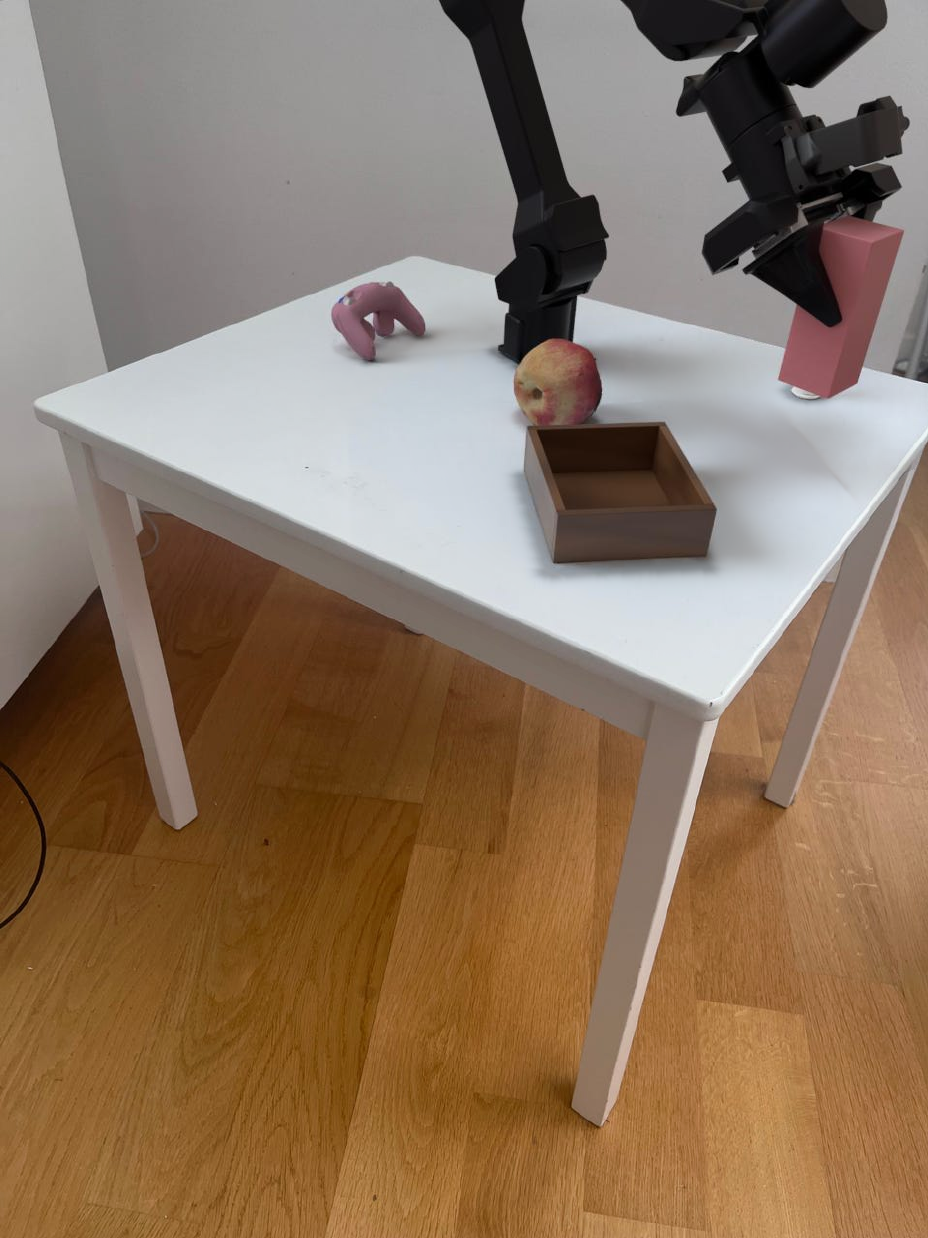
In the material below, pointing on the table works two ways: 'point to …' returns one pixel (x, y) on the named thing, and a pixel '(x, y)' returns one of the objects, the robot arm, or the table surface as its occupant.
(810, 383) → the rose block
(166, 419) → the table surface
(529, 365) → the fruit
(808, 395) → the chess pawn
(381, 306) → the video game controller
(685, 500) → the crate
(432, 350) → the table surface
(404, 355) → the table surface
